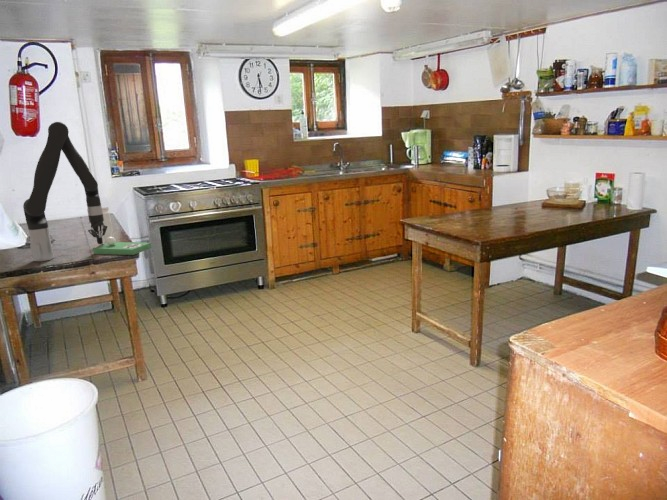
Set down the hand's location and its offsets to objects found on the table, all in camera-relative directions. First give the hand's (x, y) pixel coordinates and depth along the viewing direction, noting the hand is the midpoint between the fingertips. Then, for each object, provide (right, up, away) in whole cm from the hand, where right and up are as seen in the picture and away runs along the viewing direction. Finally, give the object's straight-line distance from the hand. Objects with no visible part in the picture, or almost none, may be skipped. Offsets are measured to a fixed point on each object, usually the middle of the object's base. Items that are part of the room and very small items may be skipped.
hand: (100, 243), depth 282 cm
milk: (-4, 0, +18) cm, 18 cm away
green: (+14, -4, -3) cm, 15 cm away
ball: (+7, +1, -3) cm, 8 cm away
